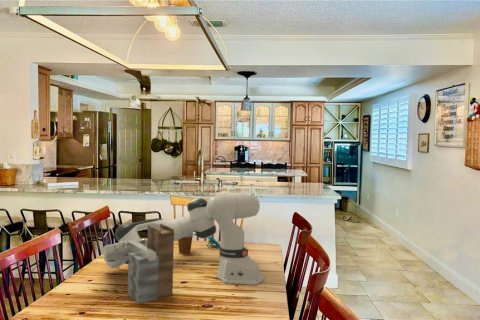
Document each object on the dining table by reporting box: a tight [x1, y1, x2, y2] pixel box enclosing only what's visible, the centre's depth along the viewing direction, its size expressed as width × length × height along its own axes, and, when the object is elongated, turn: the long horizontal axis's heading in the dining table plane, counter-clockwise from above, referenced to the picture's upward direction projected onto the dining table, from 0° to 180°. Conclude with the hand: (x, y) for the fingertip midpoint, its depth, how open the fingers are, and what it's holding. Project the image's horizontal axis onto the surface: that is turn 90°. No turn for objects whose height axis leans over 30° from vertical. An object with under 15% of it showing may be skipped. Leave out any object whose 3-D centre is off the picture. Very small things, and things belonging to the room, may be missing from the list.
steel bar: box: [127, 240, 156, 261], centre depth 149 cm, size 22×3×3 cm, turn 38°
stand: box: [127, 224, 175, 305], centre depth 149 cm, size 11×14×28 cm
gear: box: [206, 236, 221, 249], centre depth 223 cm, size 11×6×10 cm
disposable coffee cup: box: [177, 232, 195, 255], centre depth 210 cm, size 10×10×12 cm
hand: (133, 242), depth 155 cm, fingers open, 8 cm apart
